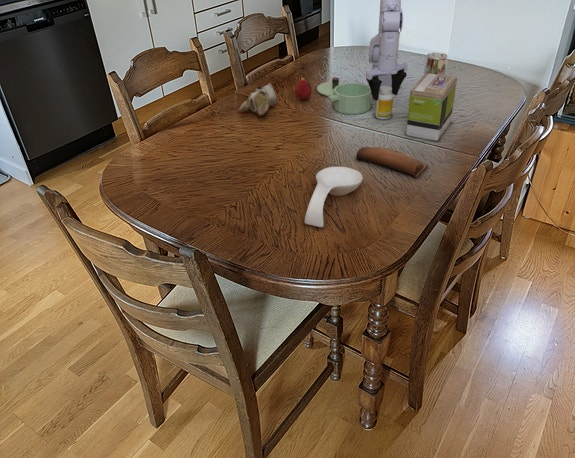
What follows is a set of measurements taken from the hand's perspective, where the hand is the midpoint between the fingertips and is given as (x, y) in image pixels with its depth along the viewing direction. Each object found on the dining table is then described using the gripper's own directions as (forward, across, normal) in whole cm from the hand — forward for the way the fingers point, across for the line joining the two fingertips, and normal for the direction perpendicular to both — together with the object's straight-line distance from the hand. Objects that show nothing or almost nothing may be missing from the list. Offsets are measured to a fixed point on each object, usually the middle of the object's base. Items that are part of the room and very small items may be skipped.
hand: (384, 96), depth 158 cm
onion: (+7, -15, +26) cm, 31 cm away
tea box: (+7, +6, -15) cm, 17 cm away
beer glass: (+7, +22, +2) cm, 23 cm away
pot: (+7, -4, +12) cm, 14 cm away
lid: (+6, -1, +27) cm, 28 cm away
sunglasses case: (+7, -17, -26) cm, 32 cm away
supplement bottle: (+7, 0, 0) cm, 7 cm away
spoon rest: (+7, -41, -33) cm, 53 cm away
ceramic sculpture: (+7, -32, +26) cm, 42 cm away
